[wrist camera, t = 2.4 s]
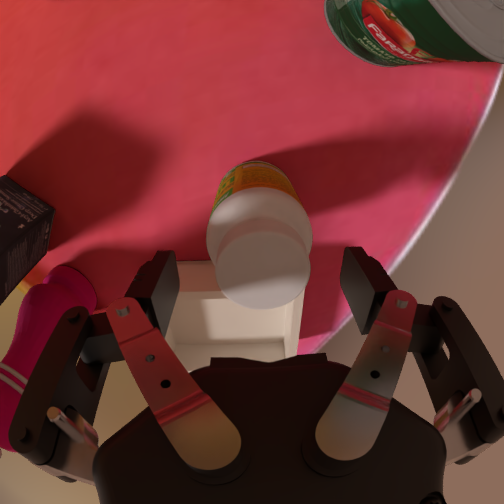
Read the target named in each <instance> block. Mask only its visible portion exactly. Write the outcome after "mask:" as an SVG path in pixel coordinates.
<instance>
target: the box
mask: <svg viewBox="0 0 504 504" xmlns="http://www.w3.org/2000/svg"><path fill="white" fill-rule="evenodd" d="M54 213H55V209H54V208H52V207H50V206H49V205H47V204H46V203H44V202H43V201H41V200H40V199H38V198H37V197H35V196H34V195H32V194H31V193H29V192H28V191H27V190H25V189H24V188H22V187H21V186H19V185H18V184H17V183H15V182H14V181H12V180H11V179H10V178H8V177H7V176H6V175H3V176H1V177H0V305H1V304H2V303H3V302H4V300H5V299H6V298H7V297H8V295H9V294H10V293H11V292H12V291H13V290H14V289H15V287H16V286H17V285H18V284H19V283H20V282H21V280H22V279H23V278H24V277H25V276H26V275H27V274H28V273H29V272H30V271H31V269H32V268H33V267H34V266H35V265H36V264H37V263H38V262H39V261H40V260H41V259H42V258H43V257H44V256H45V255H46V253H47V249H48V244H49V238H50V232H51V228H52V222H53V218H54Z"/></svg>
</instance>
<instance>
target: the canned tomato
mask: <svg viewBox="0 0 504 504" xmlns="http://www.w3.org/2000/svg"><path fill="white" fill-rule="evenodd" d="M324 14H325V18H326V21H327V24H328V26H329V28H330V30H331V32H332V33H333V35H334V36H335V37H336V39H337V40H338V41H339V42H340V43H341V44H342V45H343V46H344V48H345V49H347V50H348V51H349V52H351V53H352V54H353V55H354V56H356V57H358V58H360V59H361V60H363V61H365V62H368V63H370V64H373V65H377V66H382V67H396V66H401V65H409V64H420V63H434V62H453V61H456V62H461V61H466V62H471V61H476V62H498V63H501V64H504V0H325V2H324Z"/></svg>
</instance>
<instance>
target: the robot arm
mask: <svg viewBox="0 0 504 504" xmlns="http://www.w3.org/2000/svg"><path fill="white" fill-rule="evenodd" d="M340 284H341V288H342V290H343V292H344V295H345V297H346V299H347V301H348V304H349V306H350V308H351V311H352V313H353V315H354V318H355V320H356V322H357V325H358V327H359V329H360V332H361V334H362V335H365V334H368V336H367V338H366V340H365V342H364V344H363V346H362V348H361V350H360V353H359V355H358V357H357V358H356V361H355V362H354V364H353V366H352V368H350V367H348V366H345V365H343V364H340V363H337V362H332V361H328V360H327V356H326V353H317V354H305V355H296V356H293V357H289V358H285V359H282V360H278V361H274V362H263V361H257V360H251V359H246V358H240V357H211V360H210V365H209V366H205V367H201V368H198V369H196V370H193V371H191V372H190V373H188V371H187V370H186V369H185V367H184V366H183V365H182V363H181V362H180V360H179V359H178V358H177V356H176V355H175V353H174V352H173V351H172V349H171V348H170V346H169V345H168V343H167V342H166V340H165V336H166V333H167V329H168V326H169V322H170V319H171V316H172V312H173V309H174V306H175V303H176V299H177V296H178V293H179V289H180V279H179V274H178V268H177V263H176V257H175V253H174V251H173V250H168V251H157V253H156V255H155V256H154V258H153V260H152V261H147V262H146V263H145V264H144V265H142V266H141V267H140V269H139V271H138V272H137V275H136V276H135V278H134V281H132V283H131V285H130V287H129V289H128V291H127V292H126V294H125V296H124V298H120V299H117V300H115V301H113V302H112V303H111V304H110V305H109V306H108V308H107V310H106V312H104V313H99V314H94V315H90V314H89V311H88V309H87V308H86V307H84V306H75V307H72V308H70V309H68V310H67V311H65V312H64V313H63V314H62V316H61V318H60V319H59V321H58V323H57V325H56V326H55V328H54V330H53V332H52V334H51V335H50V337H49V339H48V341H47V343H46V345H45V347H44V349H43V351H42V353H41V354H40V356H39V358H38V361H37V363H36V365H35V367H34V369H33V371H32V373H31V375H30V377H29V380H28V382H27V384H26V386H25V389H24V391H23V393H22V396H21V398H20V401H19V403H18V406H17V408H16V411H15V414H14V416H13V419H12V422H11V425H10V428H9V432H8V438H9V442H10V445H11V446H12V448H13V449H14V450H15V451H16V452H18V453H19V454H21V455H22V456H24V457H25V458H27V459H28V460H29V461H30V462H31V463H32V464H34V465H36V466H37V467H39V468H40V469H42V470H44V471H45V472H47V473H49V474H51V475H53V476H56V477H58V478H59V479H61V480H63V481H65V482H75V481H77V480H78V481H81V482H84V483H88V484H91V485H94V486H96V489H97V492H98V496H99V500H100V504H447V503H446V502H445V499H444V496H443V475H444V469H445V466H446V465H449V464H451V463H456V464H459V465H460V464H465V463H467V462H469V461H470V460H472V459H473V458H475V457H476V456H478V455H479V454H480V453H482V452H483V451H485V450H486V449H487V448H489V447H490V446H491V445H493V444H494V443H495V442H497V441H498V440H499V439H500V438H502V437H503V436H504V380H503V378H502V376H501V374H500V372H499V370H498V368H497V366H496V365H495V363H494V361H493V359H492V357H491V356H490V354H489V352H488V351H487V349H486V347H485V345H484V344H483V342H482V340H481V339H480V337H479V335H478V334H477V332H476V331H475V329H474V328H473V326H472V325H471V323H470V321H469V320H468V318H467V317H466V315H465V314H464V312H463V311H462V310H461V308H460V307H459V305H458V304H457V303H456V302H455V301H454V300H452V299H450V298H448V297H445V296H439V297H436V298H435V299H434V301H433V304H432V306H431V305H423V304H417V301H416V299H415V298H414V297H413V296H412V295H411V294H410V293H408V292H406V291H402V290H398V289H397V287H396V286H395V284H394V283H393V281H392V280H391V278H390V277H389V275H387V272H386V271H385V270H384V268H383V267H382V265H381V264H380V262H379V261H377V260H376V259H374V258H373V257H371V256H368V255H367V254H366V252H365V251H364V249H363V248H362V247H346V248H345V250H344V256H343V262H342V267H341V273H340ZM444 342H445V344H446V346H447V347H448V349H449V352H450V358H449V360H448V358H447V356H446V354H445V352H444V350H443V348H442V346H443V344H444ZM407 352H413V355H414V357H415V359H416V362H417V364H418V367H419V369H420V372H421V374H422V377H423V379H424V381H425V384H426V387H427V389H428V392H429V395H430V398H431V400H432V403H433V406H434V408H435V412H436V415H435V417H434V426H433V425H432V424H430V423H429V422H427V421H426V420H424V419H423V418H421V417H420V416H418V415H417V414H416V413H414V412H413V411H411V410H410V409H408V408H407V407H405V406H404V405H403V404H401V403H400V402H398V401H397V400H396V399H394V398H393V397H392V396H393V393H394V390H395V388H396V385H397V382H398V379H399V376H400V373H401V371H402V367H403V364H404V361H405V358H406V355H407ZM79 356H80V358H79ZM78 358H79V361H78V363H77V360H78ZM122 360H126V362H127V365H128V366H129V369H130V371H131V373H132V375H133V377H134V379H135V381H136V383H137V385H138V387H139V388H140V390H141V392H142V394H143V396H144V398H145V400H146V401H147V403H148V405H149V406H148V407H147V408H146V409H144V410H143V411H142V412H141V413H139V414H138V415H137V416H136V417H135V418H134V419H132V420H131V421H130V422H129V423H127V424H126V425H125V426H124V427H122V428H121V429H120V430H119V431H117V432H116V433H115V434H114V435H112V436H111V437H110V438H109V439H107V440H106V441H105V442H104V443H103V444H102V445H101V446H100V447H99V446H98V434H97V432H96V430H95V429H94V428H93V423H94V418H95V414H96V411H97V407H98V404H99V400H100V397H101V393H102V389H103V386H104V383H105V380H106V376H107V373H108V370H109V367H110V364H111V362H116V361H122ZM76 363H77V366H76Z"/></svg>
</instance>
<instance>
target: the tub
mask: <svg viewBox="0 0 504 504" xmlns="http://www.w3.org/2000/svg"><path fill="white" fill-rule="evenodd" d="M176 263H177V268H178V274H179V279H180V289H179V293H178V296H177V299H176V303H175V306H174V309H173V312H172V316H171V319H170V322H169V326H168V329H167V333H166V336H165V340H166V342H167V343H168V345H169V346H170V348H171V349H172V351H173V352H174V353H175V355H176V356H177V358H178V359H179V360H180V362H181V363H182V365H183V366H184V367H185V369H186V370H187V371H188V373H190V372H191V371H193V370H196V369H198V368H201V367H205V366H209V365H210V360H211V357H240V358H246V359H251V360H257V361H263V362H274V361H278V360H282V359H285V358H289V357H293V356H296V353H297V347H298V339H299V332H300V324H301V317H302V308H303V300H304V291H305V288H304V290H303V291H302V292H301V294H300V295H299V296H297V297H296V298H295V299H294V300H292V301H291V302H289V303H287V304H285V305H283V306H281V307H277V308H273V309H267V310H255V309H249V308H245V307H242V306H240V305H238V304H236V303H234V302H233V301H231V300H230V299H228V298H227V297H226V296H225V295H224V294H223V292H222V291H221V289H220V288H219V286H218V283H217V281H216V276H215V265H214V264H213V262H212V260H206V261H176Z"/></svg>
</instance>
